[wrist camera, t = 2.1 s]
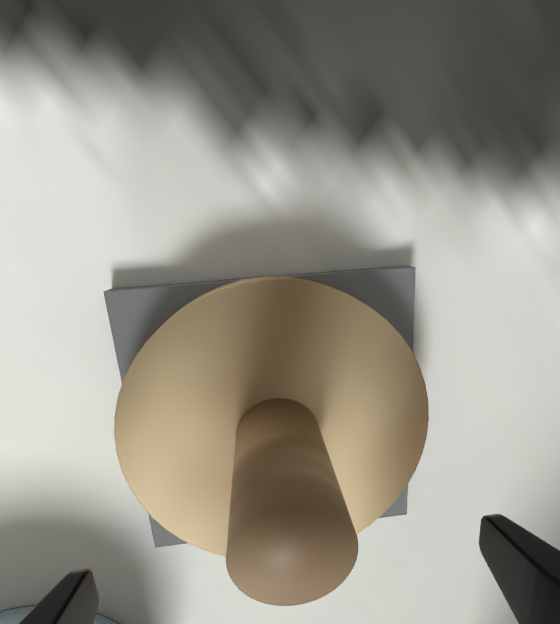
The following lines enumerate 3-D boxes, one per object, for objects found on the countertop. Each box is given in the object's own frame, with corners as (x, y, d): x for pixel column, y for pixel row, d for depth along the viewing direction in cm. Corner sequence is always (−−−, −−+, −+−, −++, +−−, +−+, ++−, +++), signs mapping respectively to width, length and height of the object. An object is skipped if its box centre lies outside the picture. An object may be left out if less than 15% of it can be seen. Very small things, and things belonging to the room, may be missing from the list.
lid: (418, 264, 12) (561, 290, 6) (408, 515, 14) (503, 686, 9) (100, 288, 11) (-49, 342, 6) (153, 549, 14) (88, 756, 8)
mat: (407, 265, 12) (415, 267, 12) (400, 503, 15) (406, 514, 14) (110, 289, 12) (103, 292, 11) (159, 534, 14) (155, 547, 14)
